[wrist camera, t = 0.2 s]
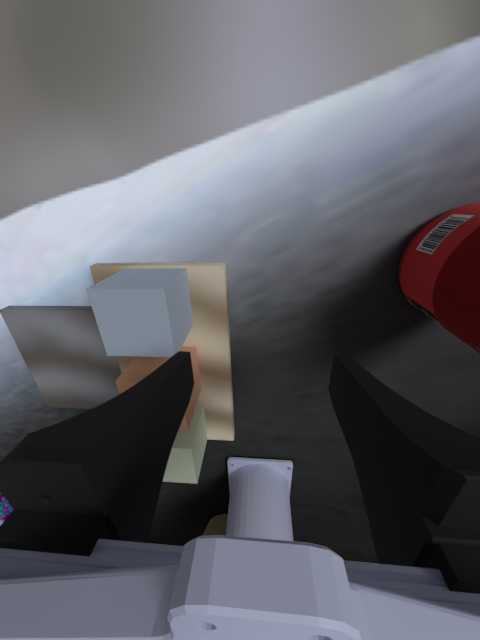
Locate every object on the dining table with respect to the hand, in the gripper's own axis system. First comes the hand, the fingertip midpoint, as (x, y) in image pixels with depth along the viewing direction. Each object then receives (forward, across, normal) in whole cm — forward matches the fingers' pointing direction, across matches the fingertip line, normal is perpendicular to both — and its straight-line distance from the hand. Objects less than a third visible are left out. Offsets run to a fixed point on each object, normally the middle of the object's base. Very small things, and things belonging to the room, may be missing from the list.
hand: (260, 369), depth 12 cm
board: (+10, +13, +7) cm, 17 cm away
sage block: (+9, +8, +14) cm, 19 cm away
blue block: (+9, +8, -1) cm, 12 cm away
